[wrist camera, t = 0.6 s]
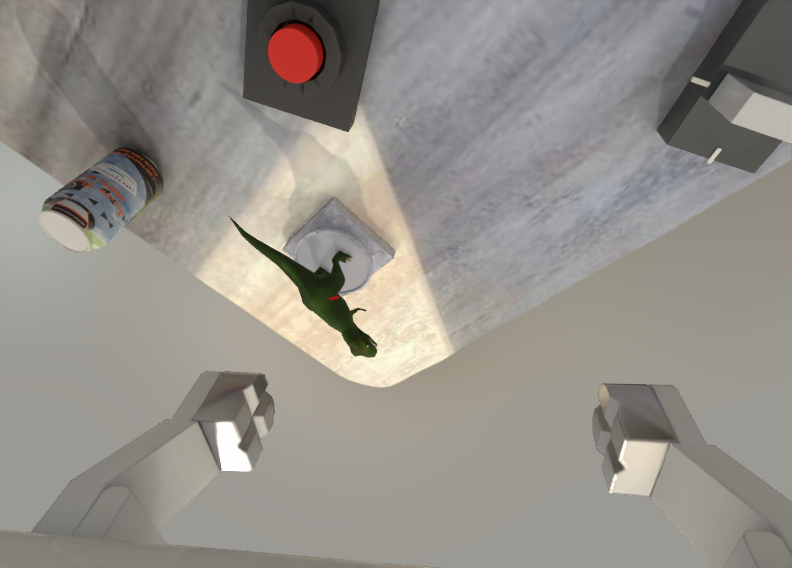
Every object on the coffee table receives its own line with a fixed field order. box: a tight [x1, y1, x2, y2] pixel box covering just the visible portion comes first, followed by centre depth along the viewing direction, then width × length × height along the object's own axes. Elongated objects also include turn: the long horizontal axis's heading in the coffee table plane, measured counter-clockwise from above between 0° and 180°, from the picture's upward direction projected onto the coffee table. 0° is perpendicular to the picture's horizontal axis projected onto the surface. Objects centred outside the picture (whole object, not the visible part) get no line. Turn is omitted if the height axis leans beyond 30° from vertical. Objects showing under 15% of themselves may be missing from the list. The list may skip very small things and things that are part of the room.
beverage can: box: [38, 148, 164, 253], centre depth 47 cm, size 6×7×12 cm
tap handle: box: [708, 74, 792, 144], centre depth 34 cm, size 6×2×5 cm, turn 75°
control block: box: [243, 0, 380, 132], centre depth 39 cm, size 12×10×4 cm
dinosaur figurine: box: [230, 198, 395, 357], centre depth 49 cm, size 9×20×12 cm, turn 46°
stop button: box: [268, 23, 323, 83], centre depth 37 cm, size 4×4×2 cm
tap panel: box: [657, 0, 792, 173], centre depth 35 cm, size 14×11×3 cm
